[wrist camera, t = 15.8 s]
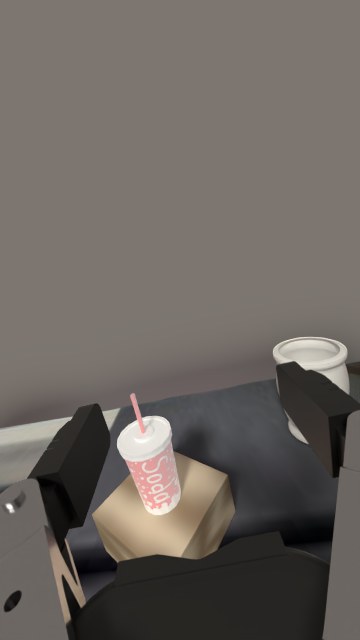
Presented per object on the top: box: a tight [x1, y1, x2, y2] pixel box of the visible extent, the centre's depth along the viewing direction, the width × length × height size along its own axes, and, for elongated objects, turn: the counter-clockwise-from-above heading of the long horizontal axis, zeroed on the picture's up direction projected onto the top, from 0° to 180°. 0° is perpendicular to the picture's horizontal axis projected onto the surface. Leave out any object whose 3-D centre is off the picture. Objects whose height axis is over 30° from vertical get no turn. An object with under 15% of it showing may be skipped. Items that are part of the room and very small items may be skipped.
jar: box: [273, 337, 349, 444], centre depth 40 cm, size 11×10×15 cm
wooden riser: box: [92, 451, 235, 562], centre depth 30 cm, size 12×12×6 cm
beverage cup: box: [117, 393, 181, 515], centre depth 28 cm, size 6×6×14 cm
